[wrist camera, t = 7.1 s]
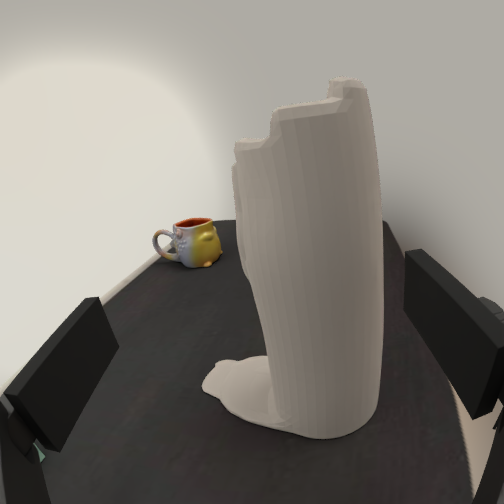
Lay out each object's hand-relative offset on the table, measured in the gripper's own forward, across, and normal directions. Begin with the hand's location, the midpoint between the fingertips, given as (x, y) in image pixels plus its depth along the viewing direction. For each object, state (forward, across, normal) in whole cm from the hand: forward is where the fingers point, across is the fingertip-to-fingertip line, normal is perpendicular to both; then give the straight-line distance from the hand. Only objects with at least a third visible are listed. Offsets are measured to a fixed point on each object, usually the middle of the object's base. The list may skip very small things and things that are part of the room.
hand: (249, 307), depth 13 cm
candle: (+6, 0, -11) cm, 13 cm away
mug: (+37, -14, -11) cm, 41 cm away
